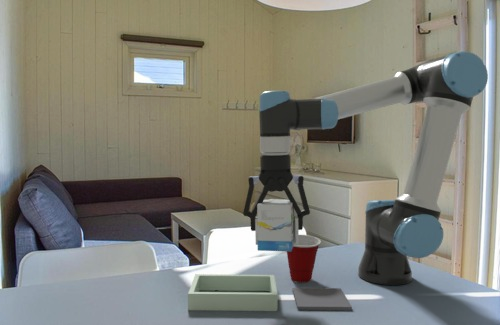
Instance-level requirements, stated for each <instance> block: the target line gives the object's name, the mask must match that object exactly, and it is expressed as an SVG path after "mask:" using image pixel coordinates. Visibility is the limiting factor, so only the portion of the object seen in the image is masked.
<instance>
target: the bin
mask: <svg viewBox="0 0 500 325" xmlns="http://www.w3.org/2000/svg"><path fill="white" fill-rule="evenodd" d="M277 289H278V288H277V283H276V278H275V274H222V273H221V274H216V273H215V274H214V273H213V274H211V273H210V274H208V273H206V274H204V273H203V274H202V273H201V274H200V273H198V274H197V273H195V275H194V278H193V280H192V282H191V285H190V287H189V290H188V293H187V311H220V312H221V311H223V312H224V311H227V312H228V311H229V312H231V311H232V312H233V311H235V312H236V311H237V312H238V311H239V312H243V311H244V312H245V311H246V312H278V300H279V298H278V297H279V296H278V290H277ZM215 290H218V291H215Z"/></svg>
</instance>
